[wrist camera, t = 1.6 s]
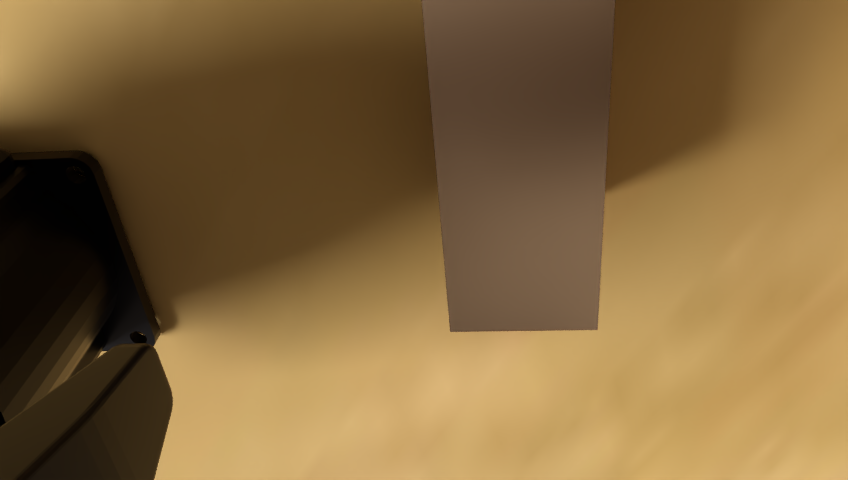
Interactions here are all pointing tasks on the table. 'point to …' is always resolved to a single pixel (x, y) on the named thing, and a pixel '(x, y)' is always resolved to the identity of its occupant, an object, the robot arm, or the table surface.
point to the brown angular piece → (520, 157)
